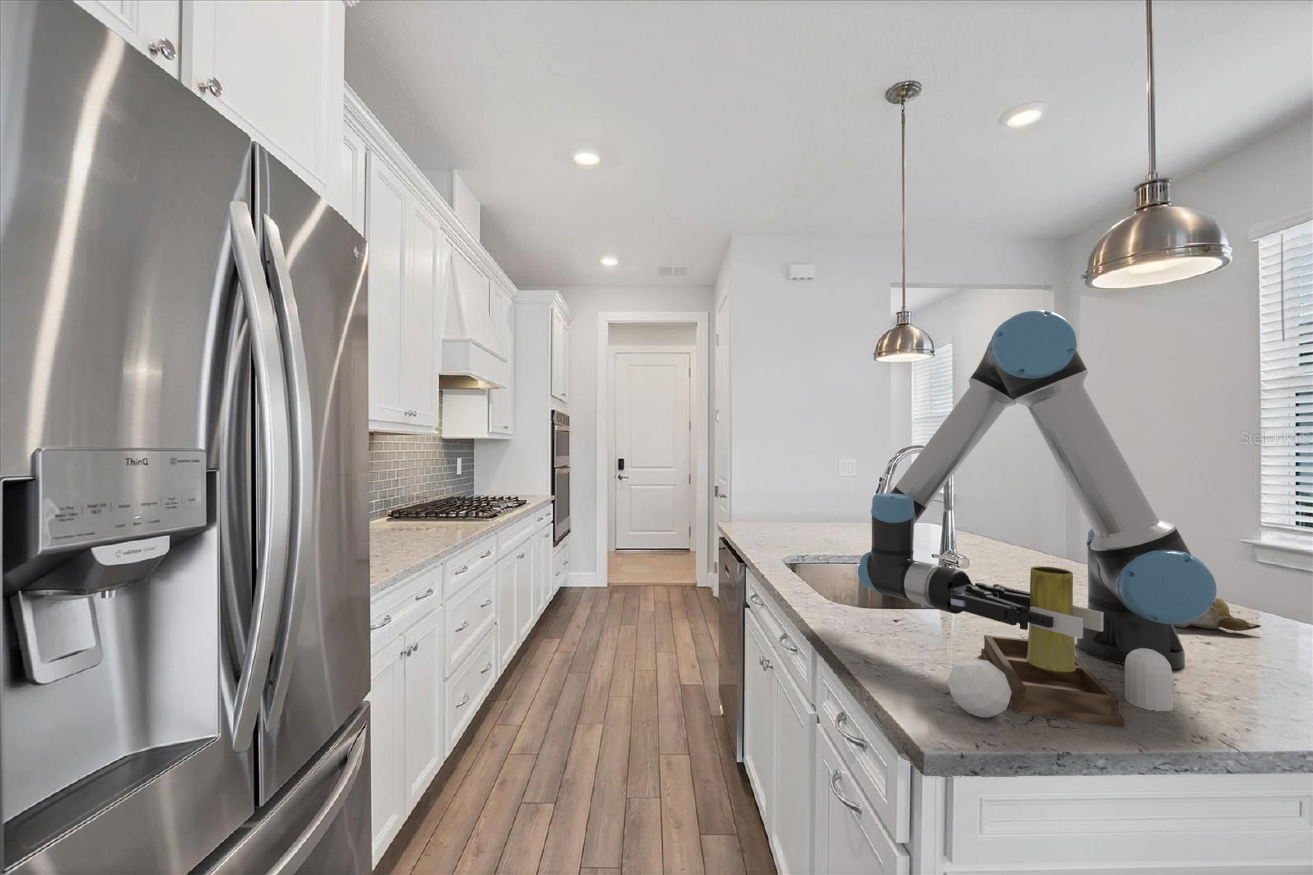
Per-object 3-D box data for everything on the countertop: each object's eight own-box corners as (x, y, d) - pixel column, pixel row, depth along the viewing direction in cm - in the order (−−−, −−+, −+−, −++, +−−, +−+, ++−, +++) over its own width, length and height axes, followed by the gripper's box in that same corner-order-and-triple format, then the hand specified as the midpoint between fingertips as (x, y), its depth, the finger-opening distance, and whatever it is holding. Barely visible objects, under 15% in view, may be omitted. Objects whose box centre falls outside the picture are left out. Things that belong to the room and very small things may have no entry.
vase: (1059, 676, 80) (1060, 576, 80) (1016, 660, 86) (1017, 567, 86) (1085, 669, 83) (1086, 572, 83) (1042, 655, 88) (1043, 564, 88)
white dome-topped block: (1181, 708, 82) (1180, 653, 82) (1158, 714, 80) (1158, 658, 80) (1139, 693, 87) (1138, 641, 87) (1116, 698, 85) (1116, 645, 85)
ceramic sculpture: (1144, 578, 125) (1220, 584, 123) (1141, 616, 125) (1217, 624, 123) (1182, 591, 114) (1266, 598, 112) (1179, 633, 114) (1263, 641, 112)
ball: (996, 736, 79) (1034, 704, 75) (945, 718, 78) (981, 684, 74) (976, 689, 85) (1010, 657, 82) (929, 672, 85) (961, 639, 81)
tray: (1066, 664, 98) (1065, 643, 98) (1124, 727, 76) (1124, 700, 76) (981, 655, 102) (981, 634, 102) (1013, 711, 80) (1013, 685, 81)
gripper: (969, 601, 104) (1121, 640, 84) (905, 616, 95) (1059, 664, 75) (969, 561, 104) (1121, 590, 84) (905, 571, 95) (1059, 607, 75)
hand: (1091, 625), depth 80 cm, fingers closed on vase, 5 cm apart
